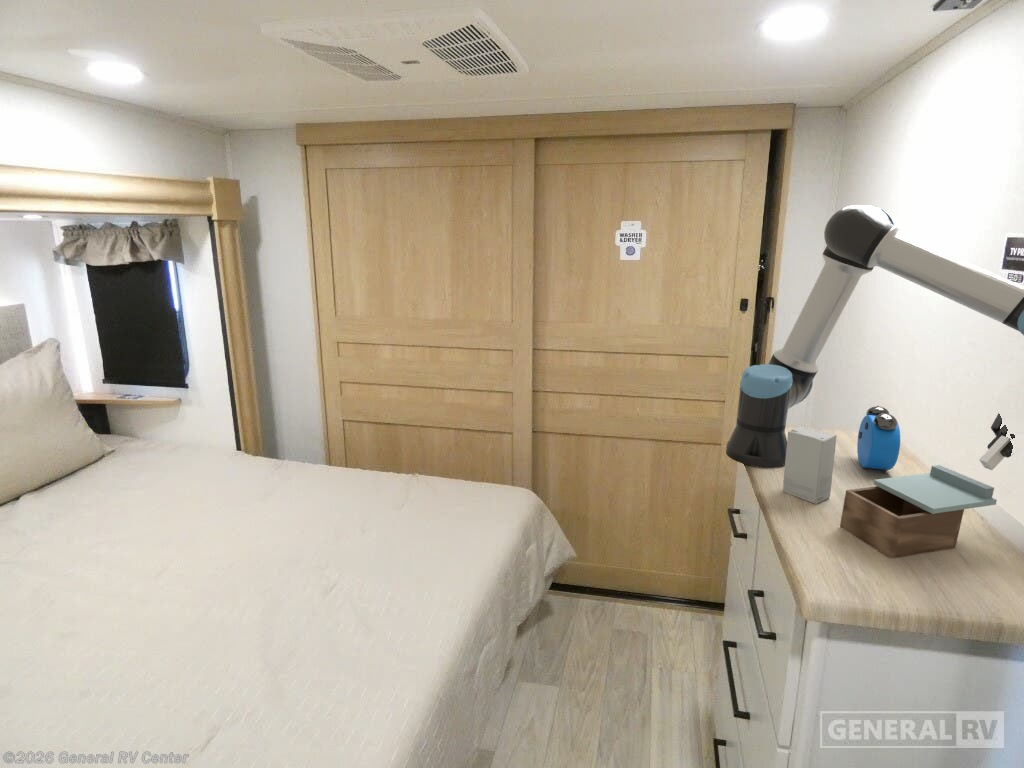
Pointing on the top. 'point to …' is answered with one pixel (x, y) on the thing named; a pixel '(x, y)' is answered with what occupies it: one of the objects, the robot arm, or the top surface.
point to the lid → (939, 490)
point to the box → (897, 523)
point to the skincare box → (809, 464)
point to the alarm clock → (878, 440)
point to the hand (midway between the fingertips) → (985, 464)
